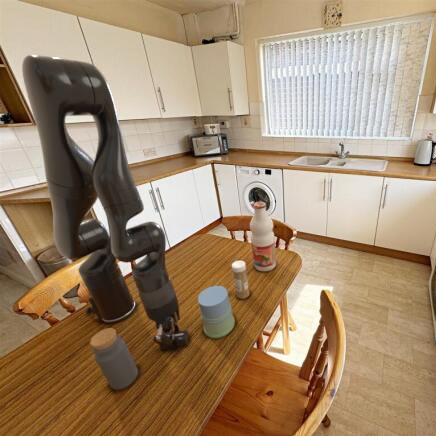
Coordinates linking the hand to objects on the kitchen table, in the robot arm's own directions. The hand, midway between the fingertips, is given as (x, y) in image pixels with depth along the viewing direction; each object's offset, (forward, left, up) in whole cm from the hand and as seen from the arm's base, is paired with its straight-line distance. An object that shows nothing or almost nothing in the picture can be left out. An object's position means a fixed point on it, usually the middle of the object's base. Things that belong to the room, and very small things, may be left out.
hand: (175, 342), depth 68 cm
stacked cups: (+12, +4, 0) cm, 13 cm away
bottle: (-10, -8, -1) cm, 13 cm away
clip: (0, 0, 0) cm, 0 cm away
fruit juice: (+28, +32, -1) cm, 43 cm away
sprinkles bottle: (+19, +16, -1) cm, 25 cm away
